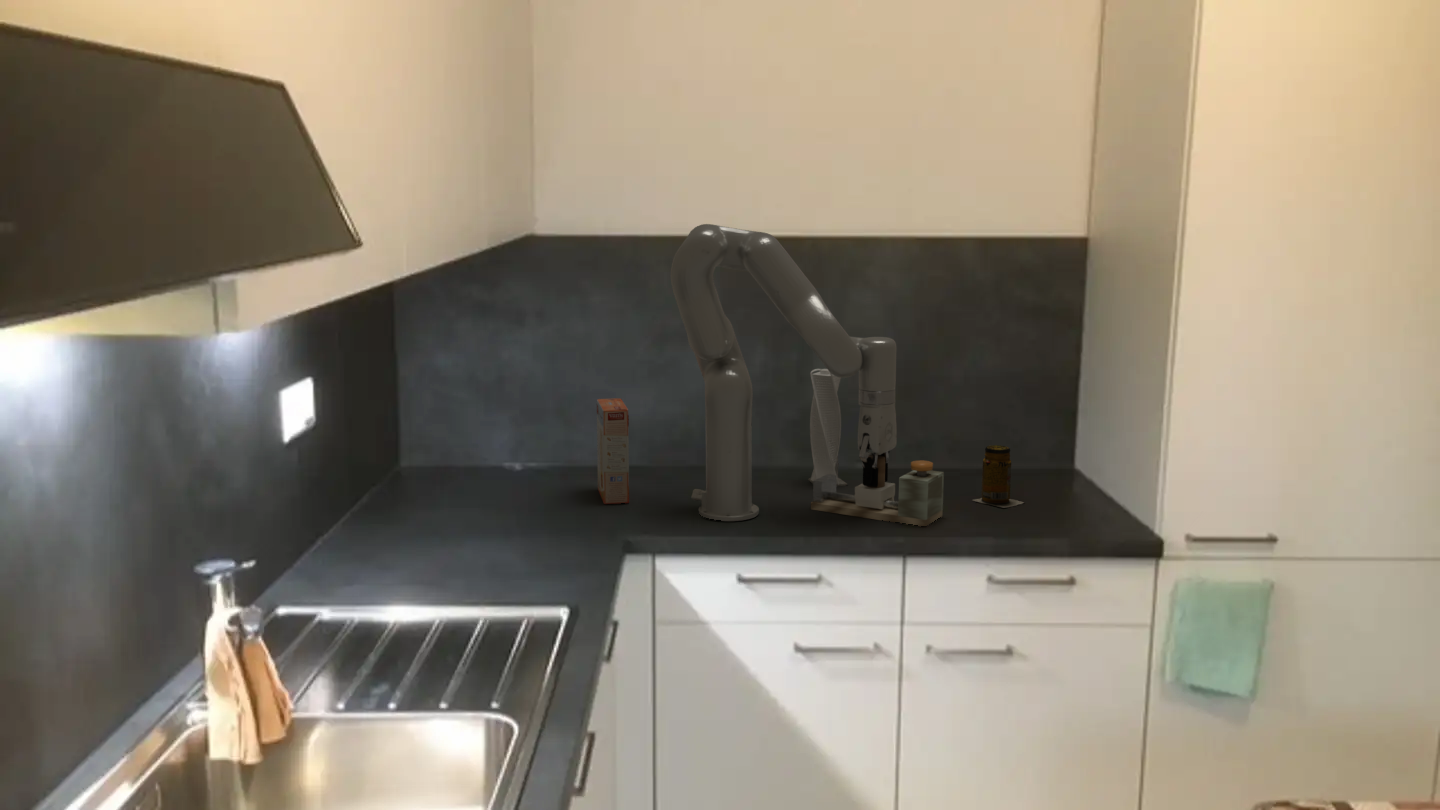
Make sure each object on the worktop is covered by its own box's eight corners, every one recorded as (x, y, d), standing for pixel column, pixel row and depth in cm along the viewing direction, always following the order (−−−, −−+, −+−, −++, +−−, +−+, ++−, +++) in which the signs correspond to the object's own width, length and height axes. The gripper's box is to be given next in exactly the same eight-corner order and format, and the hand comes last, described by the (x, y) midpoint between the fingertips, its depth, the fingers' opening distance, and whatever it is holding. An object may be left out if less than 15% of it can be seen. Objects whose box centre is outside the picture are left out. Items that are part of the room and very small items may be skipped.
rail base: (810, 509, 270) (811, 465, 268) (829, 499, 277) (830, 457, 275) (925, 527, 256) (926, 481, 255) (942, 516, 264) (943, 472, 262)
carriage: (854, 505, 265) (855, 459, 263) (868, 498, 271) (869, 452, 269) (880, 509, 262) (881, 462, 260) (894, 502, 268) (895, 455, 266)
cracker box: (631, 504, 274) (629, 408, 270) (603, 505, 273) (601, 409, 269) (623, 488, 288) (622, 397, 284) (597, 489, 287) (595, 398, 283)
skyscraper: (849, 487, 288) (851, 364, 283) (815, 489, 286) (816, 366, 281) (836, 478, 296) (838, 359, 291) (803, 480, 294) (804, 360, 289)
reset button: (907, 479, 259) (907, 463, 259) (915, 474, 263) (916, 459, 262) (927, 481, 257) (927, 466, 256) (935, 477, 261) (936, 462, 260)
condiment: (993, 495, 281) (995, 442, 278) (1024, 503, 274) (1027, 449, 272) (971, 501, 276) (973, 447, 274) (1003, 509, 270) (1005, 454, 267)
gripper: (876, 405, 253) (875, 494, 257) (909, 392, 267) (907, 477, 271) (842, 402, 257) (841, 490, 261) (877, 389, 271) (875, 473, 275)
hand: (875, 482), depth 266 cm, fingers closed on carriage, 4 cm apart
